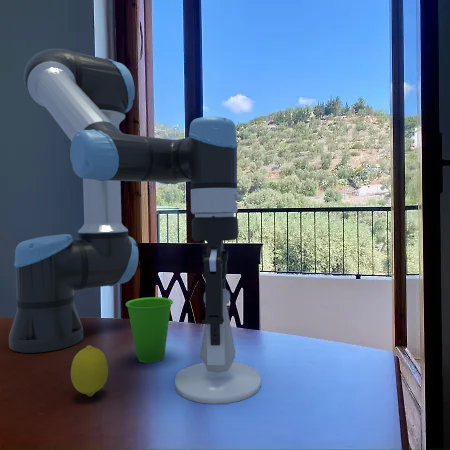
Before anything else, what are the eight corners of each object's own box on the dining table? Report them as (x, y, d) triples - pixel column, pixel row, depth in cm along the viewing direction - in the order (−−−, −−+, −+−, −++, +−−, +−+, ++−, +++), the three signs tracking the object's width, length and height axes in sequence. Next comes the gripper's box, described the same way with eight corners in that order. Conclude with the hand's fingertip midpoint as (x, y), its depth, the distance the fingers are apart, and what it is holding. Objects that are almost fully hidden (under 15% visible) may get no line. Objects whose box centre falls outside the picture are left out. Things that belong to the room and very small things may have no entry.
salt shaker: (193, 368, 68) (191, 289, 68) (217, 358, 72) (215, 284, 72) (218, 377, 64) (217, 294, 64) (243, 367, 68) (241, 288, 68)
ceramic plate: (159, 381, 70) (159, 374, 70) (225, 361, 78) (225, 355, 78) (207, 413, 59) (207, 404, 59) (278, 386, 67) (278, 379, 67)
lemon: (88, 407, 61) (86, 354, 61) (63, 399, 64) (62, 347, 64) (116, 393, 66) (115, 343, 65) (92, 385, 69) (91, 337, 68)
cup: (165, 368, 76) (163, 308, 75) (118, 365, 78) (117, 306, 77) (180, 351, 85) (179, 297, 84) (138, 349, 86) (136, 296, 86)
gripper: (236, 216, 58) (239, 380, 59) (238, 214, 77) (240, 338, 78) (183, 217, 58) (186, 380, 59) (198, 215, 77) (200, 338, 78)
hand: (217, 356), depth 68 cm, fingers closed on salt shaker, 6 cm apart
